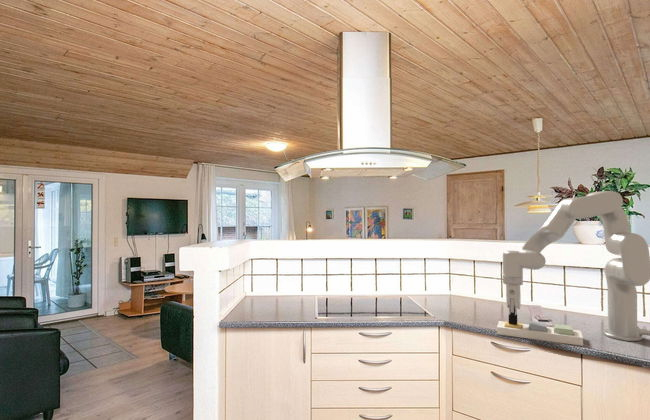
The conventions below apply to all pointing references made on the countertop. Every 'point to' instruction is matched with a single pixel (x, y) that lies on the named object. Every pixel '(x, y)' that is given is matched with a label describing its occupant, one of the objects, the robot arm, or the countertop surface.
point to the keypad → (540, 334)
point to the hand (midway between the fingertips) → (512, 323)
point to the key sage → (563, 329)
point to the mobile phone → (538, 315)
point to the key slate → (537, 326)
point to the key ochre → (519, 325)
